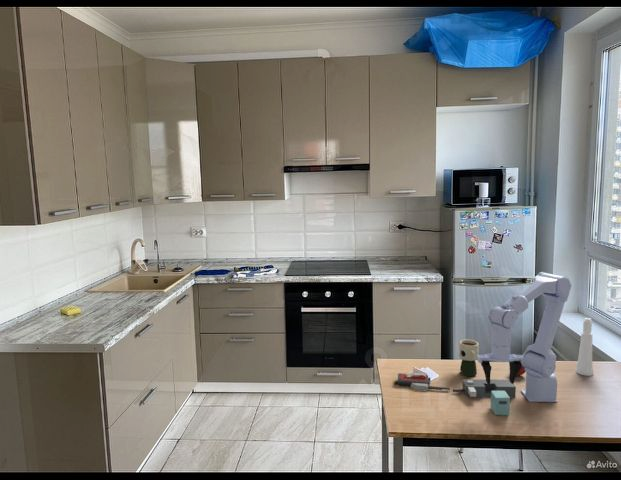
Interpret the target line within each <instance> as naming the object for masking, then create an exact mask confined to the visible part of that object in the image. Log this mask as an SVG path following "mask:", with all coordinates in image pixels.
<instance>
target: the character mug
mask: <svg viewBox="0 0 621 480" xmlns="http://www.w3.org/2000/svg"><path fill="white" fill-rule="evenodd" d="M479 346H480V344H479V342H478V341H476V340H474V339H461V340H460V341H459V354H458V356H459V358H460V359H461V361H460V363H461V364H460V369H459V372H460V374H461V375H463V376H466V377H470V376H475V375H477V371H478V370H477V364H476V363H477V362H476V361H477V355H479V351H480V350H479V349H480V348H479Z"/></svg>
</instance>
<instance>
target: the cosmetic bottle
mask: <svg viewBox="0 0 621 480" xmlns="http://www.w3.org/2000/svg"><path fill="white" fill-rule="evenodd" d="M592 324H593V321H592V318H591V317H584V319H583V324H582V325H583V326H582V332H581V335H580V340H579V341H580V342H579V352H578V357H577V364H576V367H575V372H576V373H577V374H579V375H582V376H585V377H586V376H587V377H588V376H590V377H591V376H593V375H594V368H593V333H592V330H593V329H592V326H593V325H592Z"/></svg>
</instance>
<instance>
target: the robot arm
mask: <svg viewBox="0 0 621 480" xmlns="http://www.w3.org/2000/svg"><path fill="white" fill-rule="evenodd" d="M571 288H572V283H571V281H570V279H569V277H568V276H565V275H564V276H562V275H558V274H553V273H552V274H551V273H548V272H545V271H541V272H538V273H537V275H536V276H534V278H533V282H532V283H531V285H529V286H528V287H527V288H526V289H525V290H524V291H523V292H522V293H521V294H513V295H512V296H511V297H510V298H509V299H508V300H506V301H505V302H504V303H503V304H501V305H500V306H495V307H493V308H492V309H490V311H489V313H488V316H487V317H488V320H489V322H490V327H491V353H486V354H478V355H477V360H476V361H477V363H478V364H480V365H481V367H482V369H483V372H484V376H485V380H486V382H487V383H488V384H490V380H491V371H492V366H491V363H508V364H509V376H508V380H509V381H510V382H511V384H514V385H515V380H516V378H517V376H518V375H517V374H518V372H519V370H520V369H521V368H522V365H523V367H525V371H526V372H525V374H526V375H525V389H521V390H520V392H521V393H522V394H523V395H524V397H525V398H526V399H527V400H528V402H529V403H530V402H536V403H537V402H538V403H540V402H541V403H542V402H543V403H557V402H558V400H557V394H558V380H557V376H556V374H555V371H556V363H557V355H556V353H554V351H553V350H552V346H553V343H554V339H555V336H556V333H557V329H558V326H559V322H560V320H561V317H562V314H563V313H562V312H563V309H564V306H565V303H566V302H567V301H568V299H569V296H570V293H571V292H570V291H571ZM541 295H542V296H543V297H545V299H546V305H545V307H544V311H543V314H542V317H541V321H540V324H539V328H538V331H537V334H536V337H535V341H534V343H533V344H530V345H528V346H526V348H525V351H524V353H523V354H514V353H512V354H511V347H512V346H511V343H512V327H514V325H515V323H516V321H517V320H518V318H519V316H520V315H522V313H523V312H525V311H526V310H527V309H528V308H529V303H531V302H532V301H534V300H535V299H536V298H538V297H539V296H541ZM521 363H522V364H521Z"/></svg>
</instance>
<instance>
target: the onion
mask: <svg viewBox="0 0 621 480" xmlns="http://www.w3.org/2000/svg"><path fill="white" fill-rule="evenodd" d="M521 364H522V363H521ZM524 374H526V371H525V367H523V365H522V368H521V369H520V370H519V372H518V374H517V375H516V376H520V377H521V376H522V375H524Z"/></svg>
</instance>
